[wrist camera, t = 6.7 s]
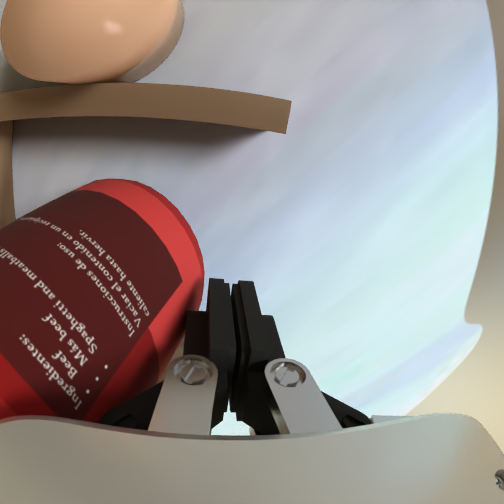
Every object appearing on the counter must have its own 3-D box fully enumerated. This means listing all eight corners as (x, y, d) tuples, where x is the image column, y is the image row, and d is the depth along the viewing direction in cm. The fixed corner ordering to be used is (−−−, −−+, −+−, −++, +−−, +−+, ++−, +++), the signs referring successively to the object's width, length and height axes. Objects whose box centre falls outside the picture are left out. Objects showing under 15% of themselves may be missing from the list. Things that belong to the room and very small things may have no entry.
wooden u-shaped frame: (-2, 97, 10) (-38, 100, 7) (275, 103, 12) (291, 100, 10) (22, 325, 16) (3, 354, 13) (231, 354, 18) (234, 392, 15)
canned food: (95, 314, 16) (-21, 455, 6) (57, 178, 12) (-134, 297, 3) (220, 339, 14) (118, 556, 5) (201, 167, 11) (-99, 409, 1)
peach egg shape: (76, -20, 8) (28, -56, 4) (196, -27, 9) (189, -83, 5) (51, 90, 11) (-13, 90, 6) (171, 89, 12) (147, 78, 7)
